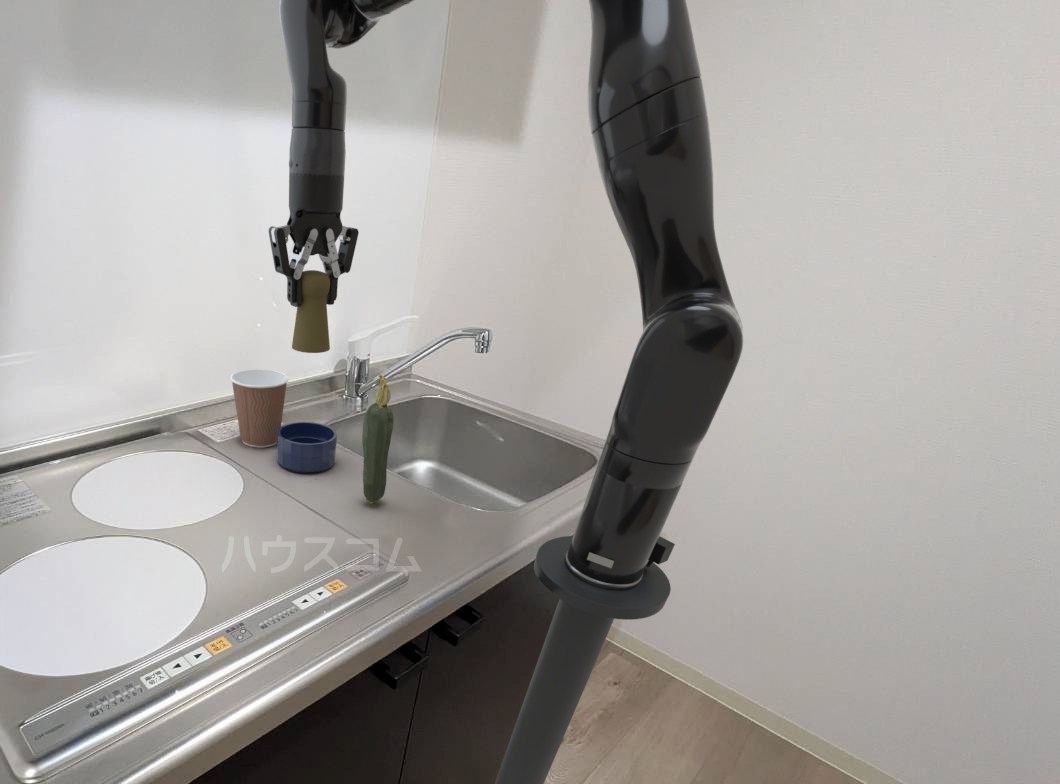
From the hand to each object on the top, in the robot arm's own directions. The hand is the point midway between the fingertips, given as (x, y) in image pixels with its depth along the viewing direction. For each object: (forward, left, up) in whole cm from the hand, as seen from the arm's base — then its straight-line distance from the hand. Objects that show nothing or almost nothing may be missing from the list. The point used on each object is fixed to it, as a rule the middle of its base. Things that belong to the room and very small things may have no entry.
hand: (312, 304), depth 88 cm
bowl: (0, 0, -26) cm, 26 cm away
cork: (0, 0, -7) cm, 7 cm away
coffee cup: (+3, -12, -26) cm, 29 cm away
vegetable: (-1, +18, -26) cm, 32 cm away
